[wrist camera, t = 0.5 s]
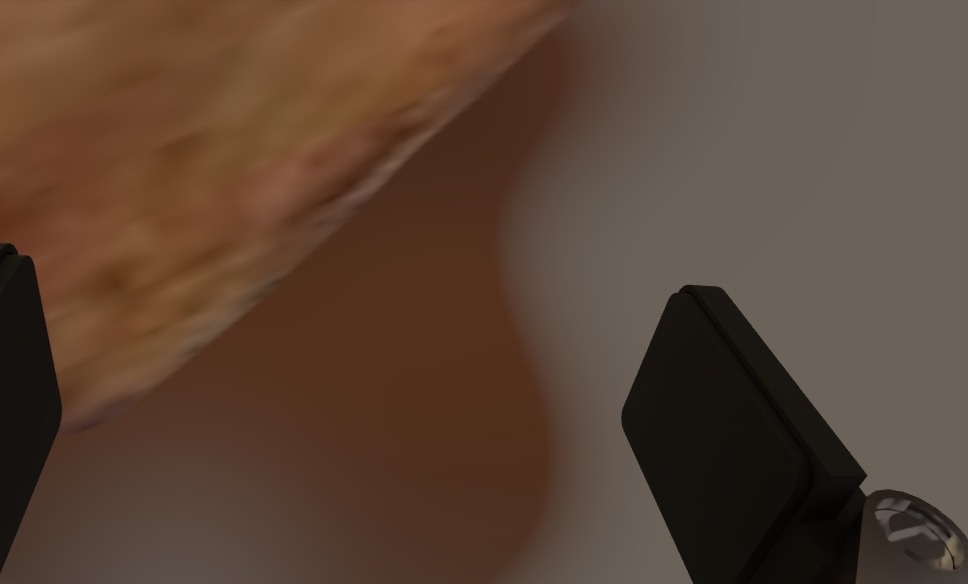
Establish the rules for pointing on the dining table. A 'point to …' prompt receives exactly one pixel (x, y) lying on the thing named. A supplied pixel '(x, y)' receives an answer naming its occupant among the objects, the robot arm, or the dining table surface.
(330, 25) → the dining table surface
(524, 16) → the dining table surface
